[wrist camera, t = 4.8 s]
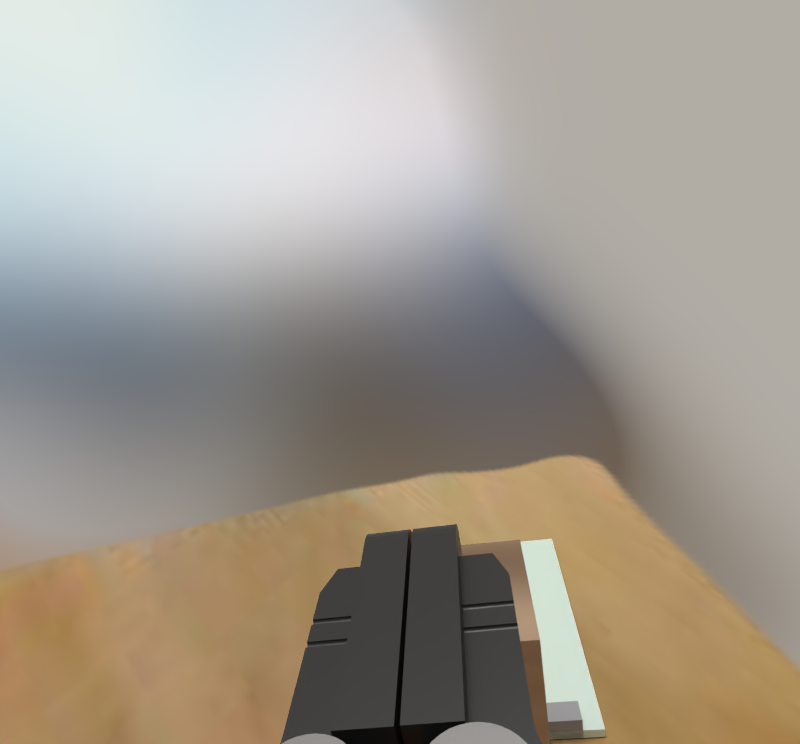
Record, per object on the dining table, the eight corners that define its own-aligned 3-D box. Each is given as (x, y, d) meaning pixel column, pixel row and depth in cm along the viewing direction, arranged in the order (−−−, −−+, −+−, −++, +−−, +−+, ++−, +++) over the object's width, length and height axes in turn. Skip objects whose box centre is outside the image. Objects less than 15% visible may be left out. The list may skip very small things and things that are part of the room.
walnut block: (563, 872, 23) (540, 639, 19) (435, 875, 24) (385, 651, 20) (542, 749, 28) (519, 539, 24) (436, 754, 28) (395, 551, 24)
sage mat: (605, 736, 28) (604, 718, 28) (375, 749, 29) (370, 732, 29) (552, 544, 41) (551, 530, 40) (394, 559, 42) (391, 545, 42)
